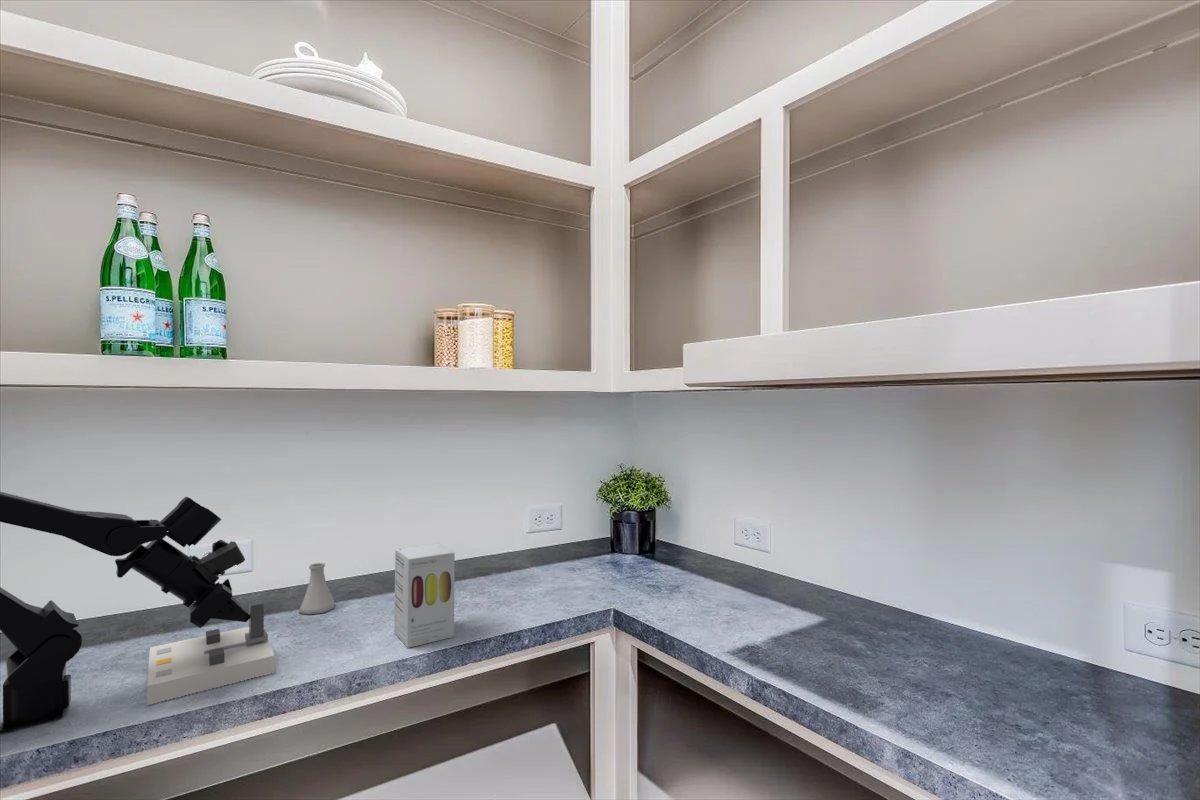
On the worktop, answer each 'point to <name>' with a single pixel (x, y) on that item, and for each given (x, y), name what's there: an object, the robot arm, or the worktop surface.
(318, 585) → the flask
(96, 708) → the worktop surface
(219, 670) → the panel
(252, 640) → the handle
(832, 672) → the worktop surface
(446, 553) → the supplement box
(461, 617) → the worktop surface
